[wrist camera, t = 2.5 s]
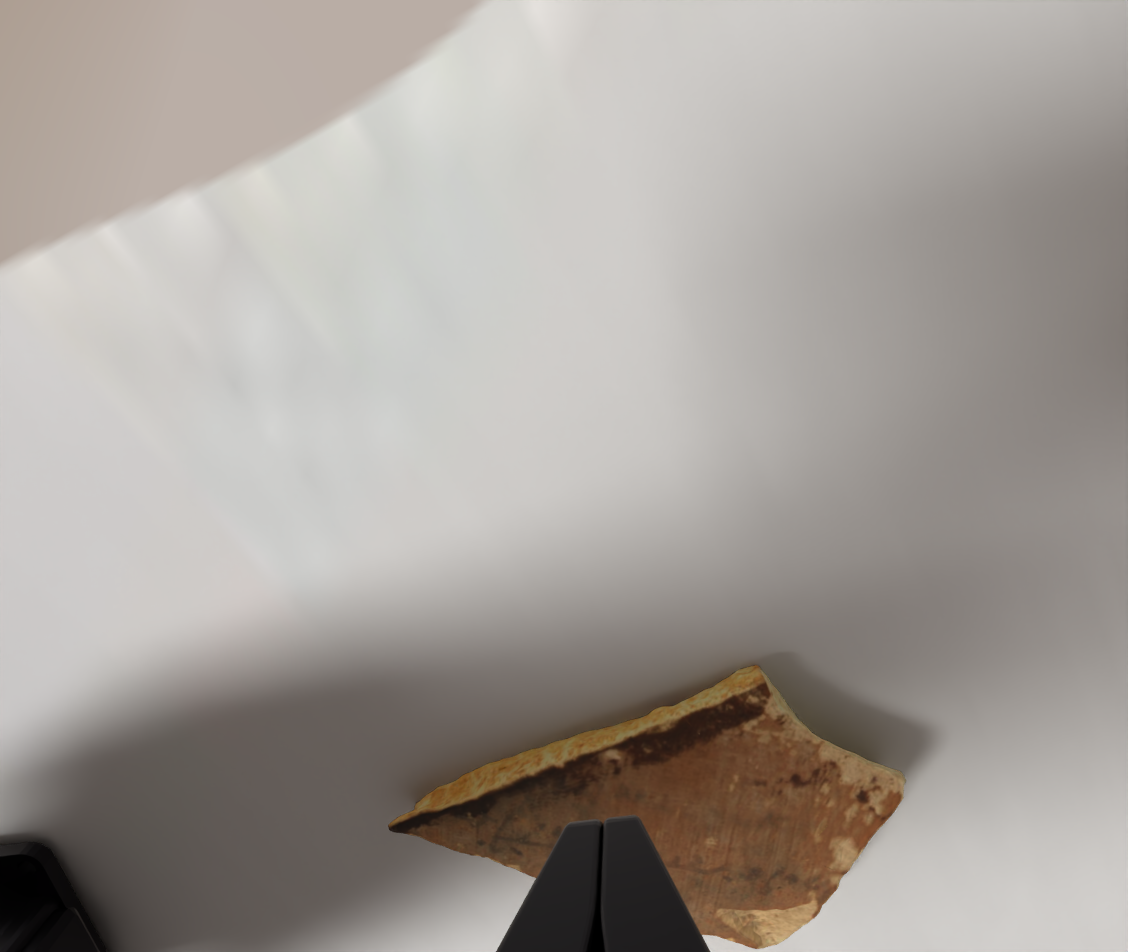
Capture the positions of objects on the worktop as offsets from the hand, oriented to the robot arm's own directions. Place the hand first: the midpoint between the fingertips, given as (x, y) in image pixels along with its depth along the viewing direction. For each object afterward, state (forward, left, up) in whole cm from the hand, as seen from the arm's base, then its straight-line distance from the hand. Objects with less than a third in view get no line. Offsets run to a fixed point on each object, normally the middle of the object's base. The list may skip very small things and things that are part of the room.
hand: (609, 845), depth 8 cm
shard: (0, -8, -9) cm, 12 cm away
